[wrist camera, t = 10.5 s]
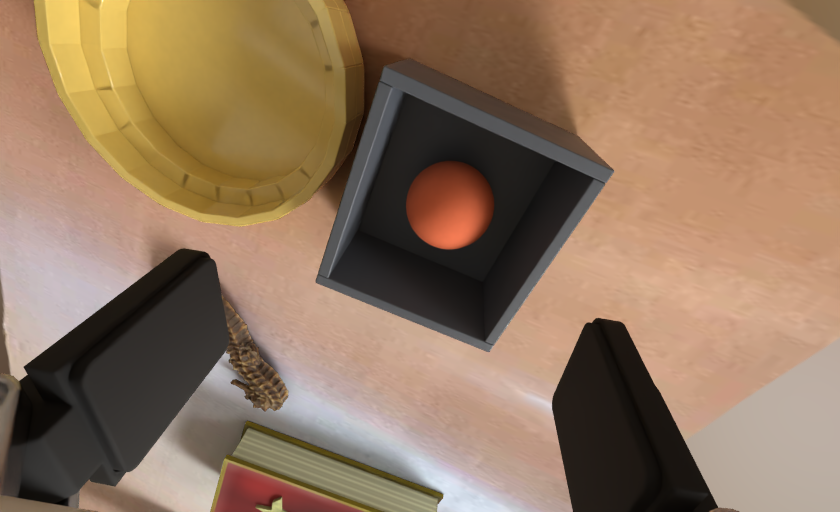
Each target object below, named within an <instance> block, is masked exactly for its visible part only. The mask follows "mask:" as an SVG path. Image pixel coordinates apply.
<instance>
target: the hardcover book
mask: <svg viewBox="0 0 840 512" xmlns="http://www.w3.org/2000/svg"><path fill="white" fill-rule="evenodd" d="M442 499H443V494H442V493H439V492H436V491H434V490H431V489H428V488H426V487H423V486H420V485H418V484H415V483H412V482H410V481H407V480H404V479H402V478H399V477H396V476H394V475H391V474H388V473H386V472H383V471H380V470H378V469H375V468H372V467H370V466H367V465H364V464H362V463H359V462H356V461H354V460H351V459H348V458H346V457H343V456H340V455H338V454H335V453H332V452H330V451H327V450H324V449H322V448H319V447H316V446H314V445H311V444H308V443H306V442H303V441H300V440H298V439H295V438H292V437H290V436H287V435H284V434H282V433H279V432H276V431H274V430H271V429H268V428H266V427H263V426H260V425H258V424H255V423H252V422H250V421H247V422H246V423H245V426H244V429H243V433H242V436H241V440H240V443H239V444H238V446H237V448H236V450H235V451H234V453H233V455H232V456H230V455H228V454H227V455H226V457H225V458H224V462H223V466H222V470H221V473H220V477H219V481H218V485H217V488H216V492H215V496H214V500H213V503H212V507H211V511H210V512H437V504H438V503H439V502H440V501H441V500H442Z"/></svg>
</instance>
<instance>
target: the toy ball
mask: <svg viewBox="0 0 840 512" xmlns="http://www.w3.org/2000/svg"><path fill="white" fill-rule="evenodd" d="M406 211H407V217H408V220H409V223H410V225H411V227H412V229H413V230H414V232H415V233H416V234H417V235H418V236H419V237H420V238H421V239H422V240H423V241H425V242H426V243H428V244H430V245H432V246H434V247H437V248H441V249H458V248H462V247H465V246H468V245H470V244H472V243H473V242H475V241H476V240H478V239H479V238H480V237H481V236H482V235H483V234H484V232H485V231H486V230H487V228H488V227H489V224H490V222H491V220H492V217H493V212H494V197H493V193H492V189H491V187H490V185H489V183H488V181H487V180H486V178H485V177H484V176H483V175H482V174H481V173H480V172H479V171H478V170H477V169H475V168H474V167H472V166H470V165H468V164H466V163H463V162H458V161H443V162H438V163H435V164H433V165H431V166H429V167H427V168H426V169H424V170H423V171H422V172H421V173H419V175H418V176H417V177H416V178H415V180H414V181H413V182H412V184H411V186H410V188H409V191H408V194H407V199H406Z"/></svg>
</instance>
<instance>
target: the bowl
mask: <svg viewBox="0 0 840 512" xmlns="http://www.w3.org/2000/svg"><path fill="white" fill-rule="evenodd" d="M34 8H35V18H36V27H37V37H38V41H39V44H40V47H41V50H42V53H43V55H44V58H45V61H46V64H47V66H48V69H49V72H50V75H51V77H52V80H53V83H54V85H55V88H56V91H57V93H58V96H59V97H60V99H61V100H62V102H63V104H64V105H65V107H66V108H67V110H68V112H69V113H70V115H71V116H72V118H73V120H74V121H75V123H76V124H77V126H78V128H79V129H80V131H81V132H82V134H83V136H84V137H85V139H86V140H87V142H88V143H89V144H90V145H91V146H92V147H93V148H94V149H95V150H96V151H97V152H98V153H99V154H100V155H101V156H102V157H103V159H104V160H105V161H106V162H107V163H108V164H109V165H110V166H111V167H112V168H113V169H114V170H115V171H116V172H117V173H118V174H119V175H120V177H121V178H123V179H124V180H126V181H127V182H128V183H130V184H131V185H133V186H134V187H136V188H137V189H138V190H140V191H141V192H143V193H144V194H146V195H147V196H148V197H150V198H151V199H153V200H154V201H156V202H157V203H158V204H160V205H162V206H164V207H166V208H169V209H171V210H174V211H176V212H179V213H181V214H183V215H186V216H188V217H191V218H193V219H196V220H198V221H202V222H207V223H215V224H223V225H231V226H239V227H241V226H247V225H252V224H257V223H263V222H268V221H273V220H277V219H280V218H281V217H283V216H285V215H286V214H288V213H289V212H291V211H293V210H294V209H296V208H297V207H299V206H301V205H302V204H304V203H305V202H307V201H309V200H310V199H311V198H312V197H313V196H314V195H315V194H316V193H317V192H318V191H319V190H320V189H321V188H322V187H323V186H324V185H325V184H326V183H328V182H329V181H330V180H331V178H332V177H333V176H334V174H335V173H336V172H337V170H338V169H339V168H340V166H341V165H342V164H343V162H344V161H345V160H346V158H347V157H348V156H349V154H350V153H351V151H352V149H353V146H354V143H355V140H356V136H357V133H358V130H359V127H360V124H361V120H362V117H363V114H364V64H363V58H362V55H361V51H360V47H359V44H358V40H357V37H356V33H355V30H354V26H353V22H352V19H351V15H350V13H349V10H348V8H347V6H346V5H345V3H344V1H343V0H34Z"/></svg>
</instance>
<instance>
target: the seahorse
mask: <svg viewBox="0 0 840 512" xmlns="http://www.w3.org/2000/svg"><path fill="white" fill-rule="evenodd" d="M222 299H223V305H224V310H225V316H226V321H227V327H228V332H229V344H228V347H227V351H226V353H227V354H230V359H229V363H231V364H232V365H233V370H237V371H238V372H239V374H240V375H241V376H243V378H244V381H245V380H246V381H247V383H248V384H249V385H247V384H244V383H242V382H240V381H239V380H237V379H235V380H232V381H231V384H233V385H236V386H238V387H239V388H241V389H243V390H244V391H245V394H246V396H245V398H246V399H247V400H248V399H250V400H251V402H252V403H253V404H254V405H253V408H262V409H263V410H264V411H266V410H267V409H269V408H271V409H273V410H274V411H276V410H279V409H280V408H281V407H282V405H283V403H284V402H285V400H286V399H287V398H288V390H287V388H286V386H285V384H284V383H283V381H282V379H281V378H280V377H279V375H278V373H277V372H276V371H275V370H274V369H273V368H272V367H271V366H269V365H268V364H267V363H265V362H264V361H263V359H262V358H261V357H260V356H259V352H258V349H259V347H258V348H257V347H256V346H255V344H253V340H252V339H251V336H250V334H248V333H249V331H248V329H247V324H244V323H245V322H243V319H241V318H240V317H239V315H238V314H237V313H236V312H235V310H234V309H233V308H232V307H231V306H230V304H229V302H228V301H226V300H225V299H224V297H223V296H222Z"/></svg>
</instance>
